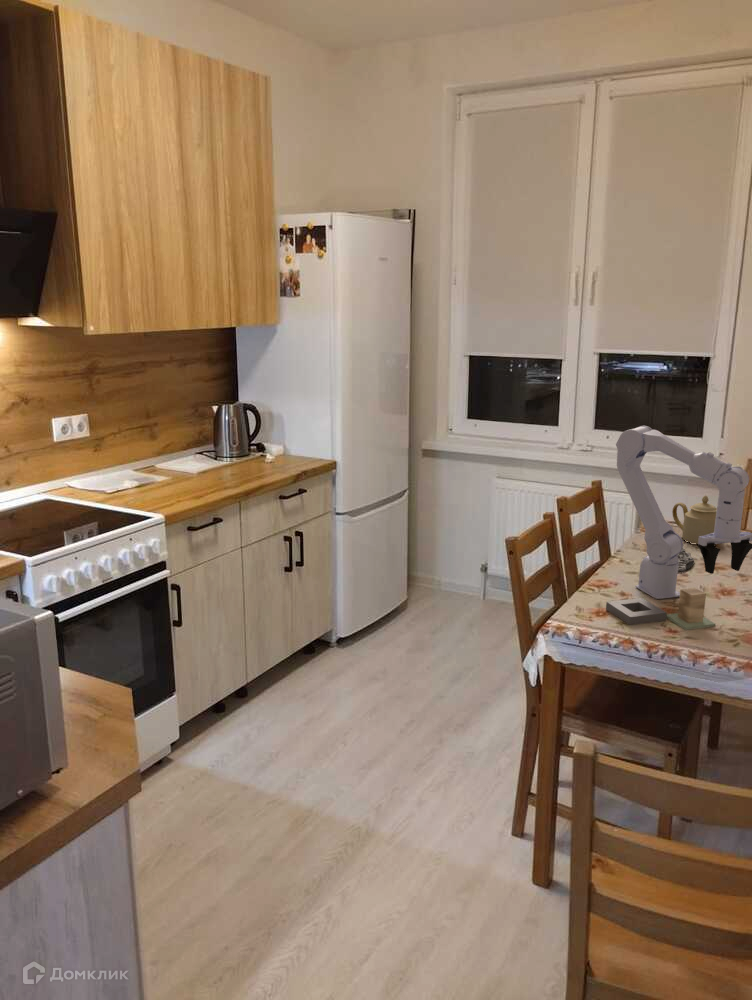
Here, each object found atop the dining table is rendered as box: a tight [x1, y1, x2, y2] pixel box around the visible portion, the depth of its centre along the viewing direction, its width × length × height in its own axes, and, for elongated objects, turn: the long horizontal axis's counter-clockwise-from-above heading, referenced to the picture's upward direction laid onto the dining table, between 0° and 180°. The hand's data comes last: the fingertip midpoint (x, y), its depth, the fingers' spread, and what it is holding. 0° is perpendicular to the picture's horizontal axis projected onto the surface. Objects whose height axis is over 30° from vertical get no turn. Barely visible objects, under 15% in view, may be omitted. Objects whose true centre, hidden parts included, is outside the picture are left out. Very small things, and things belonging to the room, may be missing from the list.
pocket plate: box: [605, 597, 668, 626], centre depth 188 cm, size 10×10×2 cm
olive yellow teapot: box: [671, 494, 717, 544], centre depth 247 cm, size 15×11×15 cm
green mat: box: [666, 612, 716, 631], centre depth 184 cm, size 8×8×1 cm
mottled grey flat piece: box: [677, 548, 695, 574], centre depth 229 cm, size 28×2×10 cm
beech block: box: [677, 587, 707, 623], centre depth 183 cm, size 4×4×7 cm
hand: (722, 570), depth 191 cm, fingers open, 7 cm apart
